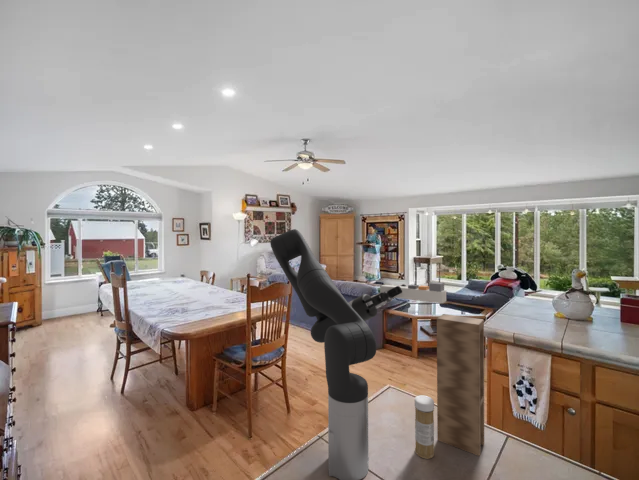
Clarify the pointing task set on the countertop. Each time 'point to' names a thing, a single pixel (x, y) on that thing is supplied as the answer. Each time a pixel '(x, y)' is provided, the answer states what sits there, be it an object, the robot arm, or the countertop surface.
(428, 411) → the sprinkles bottle
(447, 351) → the tall wooden block
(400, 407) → the countertop surface
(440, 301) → the power strip
